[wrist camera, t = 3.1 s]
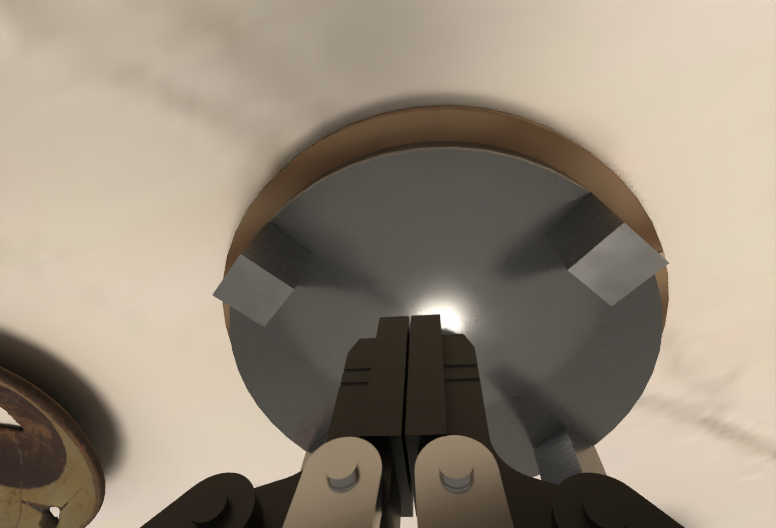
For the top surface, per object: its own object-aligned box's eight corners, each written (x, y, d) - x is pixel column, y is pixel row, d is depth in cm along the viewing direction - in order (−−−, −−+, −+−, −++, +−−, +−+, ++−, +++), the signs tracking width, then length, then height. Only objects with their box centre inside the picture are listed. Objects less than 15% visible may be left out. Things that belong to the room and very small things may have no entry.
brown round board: (173, 136, 26) (152, 144, 24) (698, 72, 22) (724, 75, 20) (287, 457, 40) (280, 478, 38) (621, 451, 36) (632, 474, 34)
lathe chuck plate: (185, 168, 24) (116, 205, 19) (685, 112, 21) (778, 138, 15) (294, 472, 37) (271, 547, 32) (614, 468, 34) (652, 551, 28)
